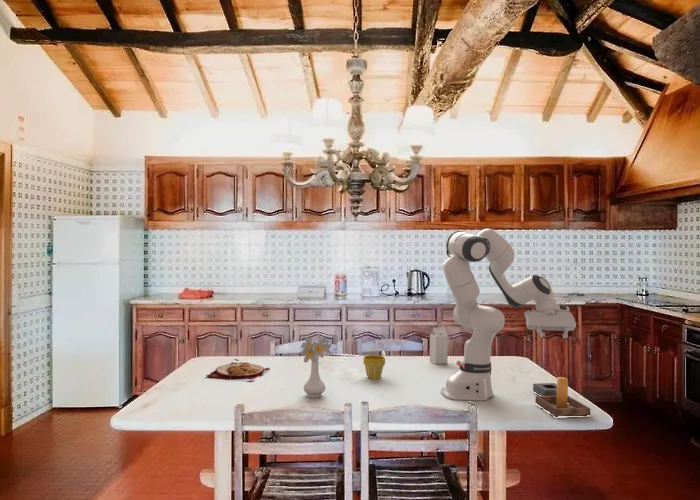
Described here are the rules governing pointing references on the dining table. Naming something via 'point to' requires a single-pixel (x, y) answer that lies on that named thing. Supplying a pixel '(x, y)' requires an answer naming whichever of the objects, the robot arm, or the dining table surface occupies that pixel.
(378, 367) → the plant pot
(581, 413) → the walnut tray
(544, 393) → the bracket
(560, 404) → the pin
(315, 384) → the flower vase
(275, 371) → the dining table surface
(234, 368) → the plate with food
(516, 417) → the dining table surface
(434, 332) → the milk carton
